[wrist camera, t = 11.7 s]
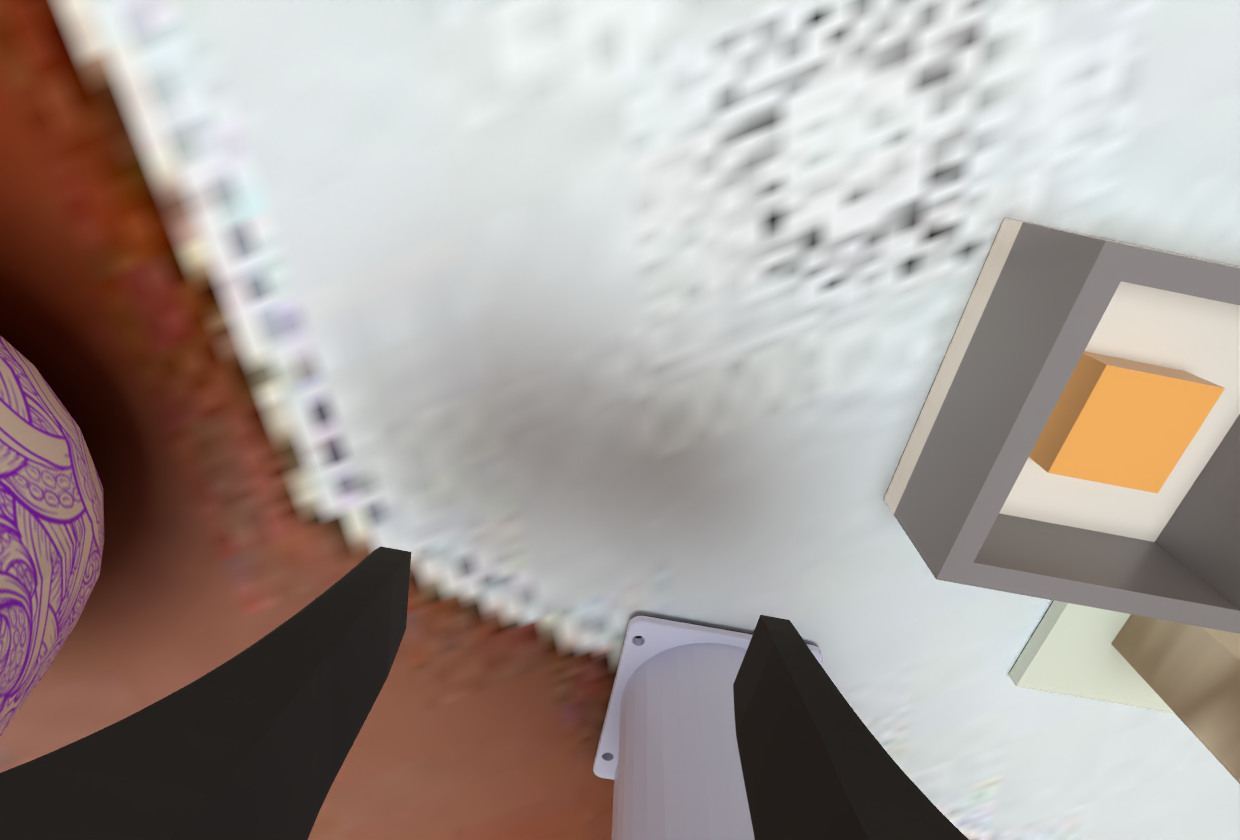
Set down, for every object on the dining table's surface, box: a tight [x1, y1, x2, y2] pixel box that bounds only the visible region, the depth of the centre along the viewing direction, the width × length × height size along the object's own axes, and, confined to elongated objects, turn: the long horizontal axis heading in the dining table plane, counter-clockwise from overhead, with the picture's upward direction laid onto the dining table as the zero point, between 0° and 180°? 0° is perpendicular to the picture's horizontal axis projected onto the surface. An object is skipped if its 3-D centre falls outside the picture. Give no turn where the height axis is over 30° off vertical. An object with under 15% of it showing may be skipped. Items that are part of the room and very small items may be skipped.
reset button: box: [1029, 351, 1225, 493], centre depth 19 cm, size 4×4×1 cm
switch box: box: [884, 218, 1240, 634], centre depth 19 cm, size 10×10×4 cm
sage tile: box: [1009, 600, 1175, 714], centre depth 24 cm, size 8×8×1 cm
